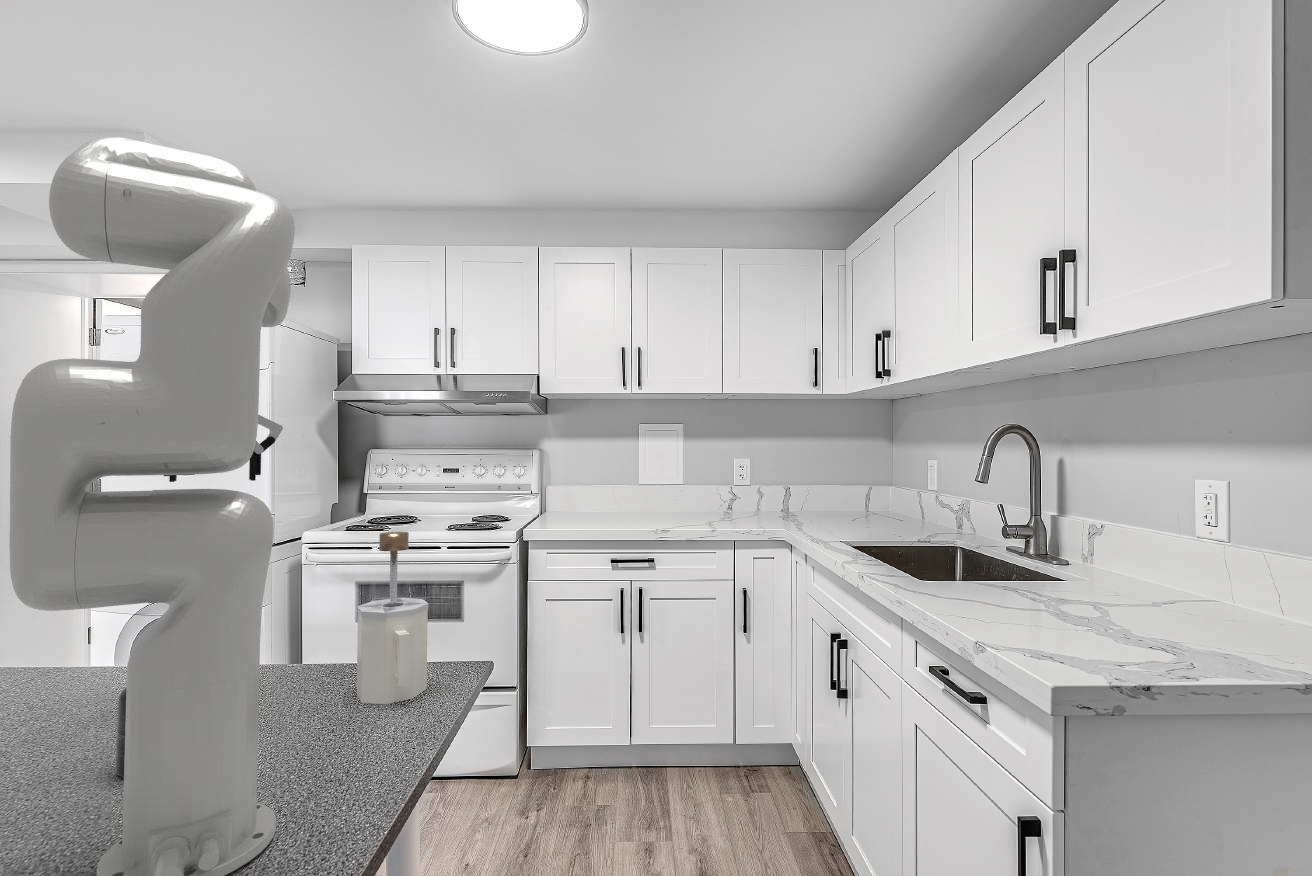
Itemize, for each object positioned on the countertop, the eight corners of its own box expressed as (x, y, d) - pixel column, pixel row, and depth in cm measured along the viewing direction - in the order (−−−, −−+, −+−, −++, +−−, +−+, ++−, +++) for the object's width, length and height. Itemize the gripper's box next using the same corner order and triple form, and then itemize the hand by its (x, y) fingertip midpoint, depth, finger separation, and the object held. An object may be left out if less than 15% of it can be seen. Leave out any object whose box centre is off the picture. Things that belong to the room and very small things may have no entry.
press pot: (437, 700, 91) (438, 609, 92) (367, 714, 86) (368, 618, 86) (416, 677, 101) (417, 595, 101) (352, 689, 95) (354, 603, 96)
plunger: (410, 652, 94) (411, 533, 95) (381, 656, 92) (382, 535, 92) (403, 645, 97) (405, 531, 98) (375, 649, 95) (377, 532, 96)
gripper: (139, 356, 87) (135, 482, 86) (285, 367, 96) (283, 480, 96) (144, 363, 93) (140, 481, 92) (281, 373, 103) (279, 479, 102)
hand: (213, 480), depth 94 cm, fingers open, 9 cm apart
